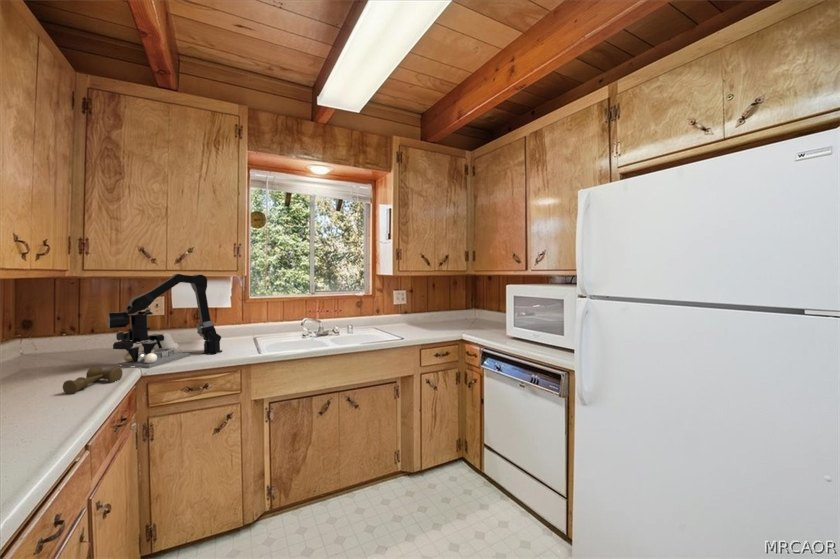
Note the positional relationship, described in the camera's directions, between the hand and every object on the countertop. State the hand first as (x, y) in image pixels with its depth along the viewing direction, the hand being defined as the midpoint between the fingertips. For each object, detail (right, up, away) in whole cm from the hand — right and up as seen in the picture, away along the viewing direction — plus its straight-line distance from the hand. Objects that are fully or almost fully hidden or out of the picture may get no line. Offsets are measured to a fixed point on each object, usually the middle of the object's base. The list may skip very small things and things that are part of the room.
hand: (140, 360), depth 154 cm
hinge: (-9, -1, +27) cm, 29 cm away
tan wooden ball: (-5, +1, +1) cm, 6 cm away
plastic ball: (+5, +1, -1) cm, 6 cm away
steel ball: (0, +1, 0) cm, 1 cm away
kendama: (+3, -4, -25) cm, 25 cm away
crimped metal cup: (0, 0, +12) cm, 12 cm away
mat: (+1, -2, +7) cm, 8 cm away
